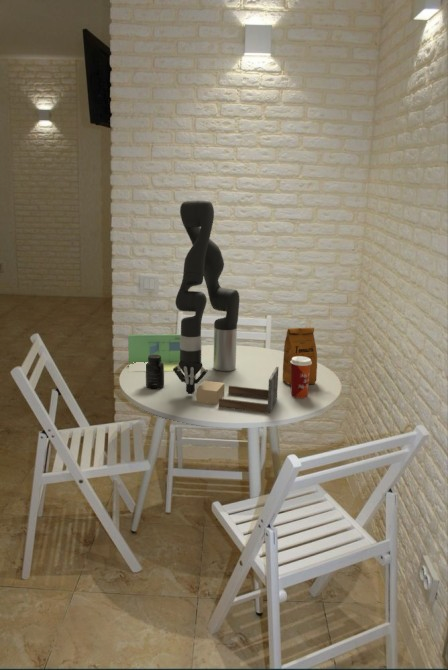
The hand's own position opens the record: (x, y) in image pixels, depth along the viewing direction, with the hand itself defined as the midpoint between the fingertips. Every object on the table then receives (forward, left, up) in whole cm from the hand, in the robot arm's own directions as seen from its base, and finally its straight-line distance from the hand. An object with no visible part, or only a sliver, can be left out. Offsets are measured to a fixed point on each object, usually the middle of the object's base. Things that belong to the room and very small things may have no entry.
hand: (190, 393), depth 214 cm
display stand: (-29, -20, -2) cm, 35 cm away
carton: (0, +8, -1) cm, 8 cm away
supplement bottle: (-5, -15, -1) cm, 16 cm away
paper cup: (-13, +38, -1) cm, 40 cm away
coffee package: (-27, +36, -1) cm, 45 cm away
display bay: (0, +21, -1) cm, 21 cm away
